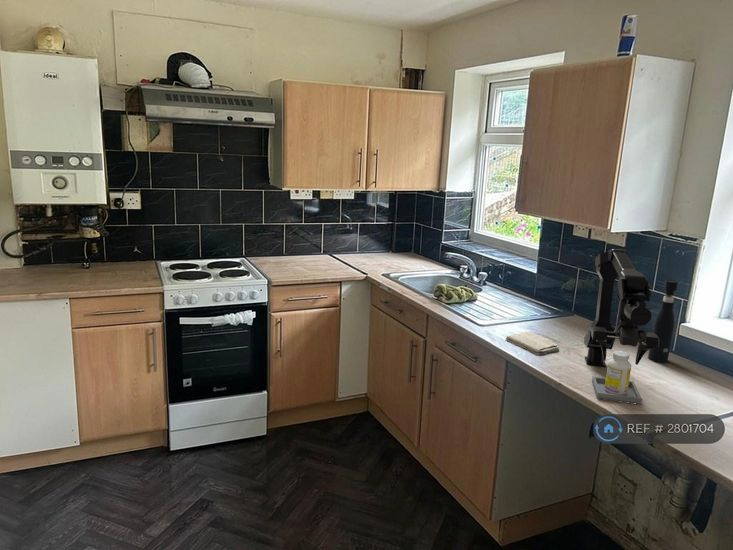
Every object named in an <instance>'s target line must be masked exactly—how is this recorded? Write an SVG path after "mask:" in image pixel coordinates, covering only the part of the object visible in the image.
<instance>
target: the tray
mask: <svg viewBox="0 0 733 550" xmlns="http://www.w3.org/2000/svg"><path fill="white" fill-rule="evenodd" d="M605 381H606V377H602V376H594V375H592V377H591V384H592V387H593V391H594V394H596V395H595V396H596V397H597V398H600V399H599V400H603V399H607V400H606V401H610V400H613V401H612V402H617V401H622V402H621V403H624V402H629V403H628V404H631V403H636V404H635V405H638V404H641V405H642V401H643V398H642V396H641V394H640V392H639V389H638V387H637V386H636V384H635V381H633V380H632V381H631V380H629V385H628V391H627V393H626V394H625V395H618V394H611V393H609V392H607V391H606V390H605ZM597 398H596V399H597Z"/></svg>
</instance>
